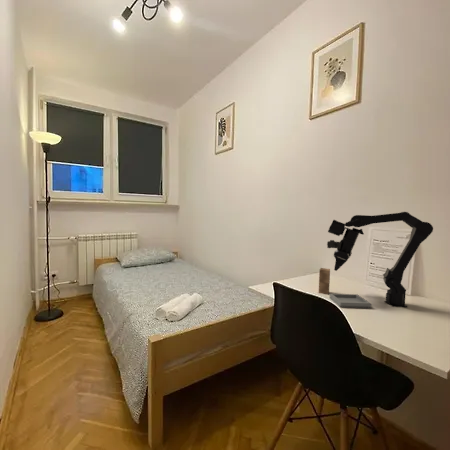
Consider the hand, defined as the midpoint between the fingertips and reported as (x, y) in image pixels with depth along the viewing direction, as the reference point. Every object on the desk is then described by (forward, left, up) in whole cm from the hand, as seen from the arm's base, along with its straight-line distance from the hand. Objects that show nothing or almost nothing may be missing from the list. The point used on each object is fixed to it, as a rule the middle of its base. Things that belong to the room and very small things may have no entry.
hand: (336, 269), depth 124 cm
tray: (-2, +11, -13) cm, 17 cm away
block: (+4, -4, -13) cm, 14 cm away
